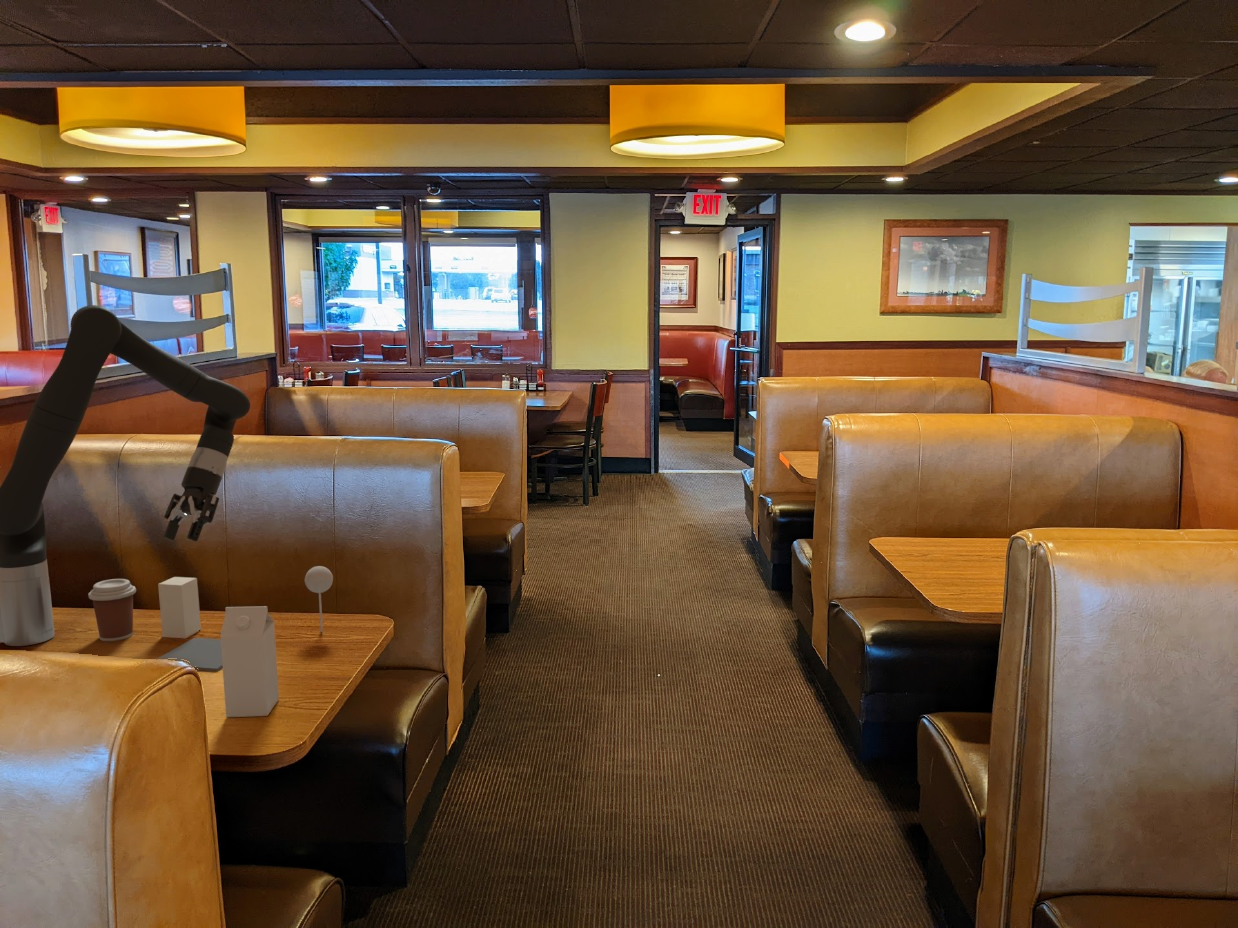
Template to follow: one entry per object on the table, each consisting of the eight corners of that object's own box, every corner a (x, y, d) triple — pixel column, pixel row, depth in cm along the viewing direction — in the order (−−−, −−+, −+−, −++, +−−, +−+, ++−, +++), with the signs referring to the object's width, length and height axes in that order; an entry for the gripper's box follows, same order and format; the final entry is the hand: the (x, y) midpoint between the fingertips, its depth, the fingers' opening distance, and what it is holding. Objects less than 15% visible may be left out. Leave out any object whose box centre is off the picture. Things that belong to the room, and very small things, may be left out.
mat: (148, 666, 181) (148, 663, 181) (194, 640, 196) (194, 637, 196) (217, 671, 179) (216, 668, 179) (258, 644, 194) (258, 641, 194)
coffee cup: (147, 628, 203) (143, 577, 201) (127, 643, 194) (122, 589, 192) (106, 628, 203) (101, 577, 201) (83, 643, 194) (78, 589, 192)
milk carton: (239, 700, 166) (232, 601, 162) (279, 699, 166) (273, 600, 163) (226, 718, 159) (218, 613, 155) (267, 716, 159) (261, 612, 156)
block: (162, 636, 198) (158, 583, 196) (178, 628, 204) (174, 576, 202) (185, 638, 197) (181, 585, 195) (200, 629, 203) (196, 577, 201)
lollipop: (326, 637, 198) (323, 571, 195) (302, 635, 199) (298, 569, 197) (340, 628, 204) (337, 563, 201) (317, 626, 205) (313, 561, 202)
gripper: (172, 465, 206) (146, 533, 200) (210, 464, 198) (184, 534, 193) (200, 478, 212) (175, 544, 206) (238, 477, 204) (214, 546, 199)
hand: (180, 539), depth 200 cm, fingers open, 8 cm apart
